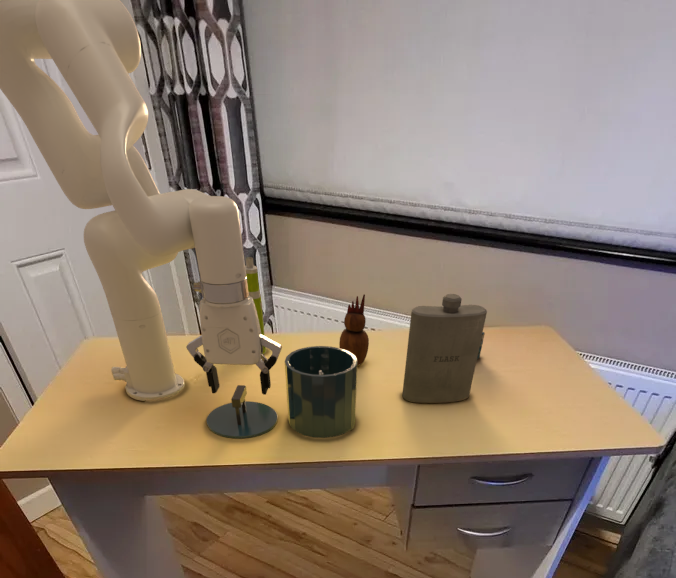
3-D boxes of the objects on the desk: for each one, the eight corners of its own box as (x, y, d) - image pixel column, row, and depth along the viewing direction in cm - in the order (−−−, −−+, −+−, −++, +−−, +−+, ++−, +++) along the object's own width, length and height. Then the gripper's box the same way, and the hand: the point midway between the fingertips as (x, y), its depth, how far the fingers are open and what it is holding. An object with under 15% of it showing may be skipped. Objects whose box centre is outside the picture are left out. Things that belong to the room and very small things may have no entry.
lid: (199, 439, 98) (192, 408, 94) (216, 404, 108) (211, 374, 103) (272, 443, 98) (269, 411, 93) (282, 407, 107) (280, 377, 103)
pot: (284, 438, 99) (280, 374, 90) (293, 405, 108) (290, 344, 99) (353, 441, 99) (355, 377, 89) (356, 408, 108) (358, 347, 98)
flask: (405, 404, 109) (417, 302, 94) (400, 392, 113) (410, 291, 98) (472, 402, 110) (495, 300, 95) (465, 389, 114) (485, 290, 99)
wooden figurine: (371, 362, 123) (375, 293, 112) (359, 370, 120) (362, 300, 109) (347, 355, 126) (349, 287, 115) (335, 363, 123) (336, 294, 111)
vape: (265, 355, 125) (257, 260, 111) (241, 354, 125) (229, 260, 111) (267, 349, 128) (259, 256, 113) (243, 348, 128) (232, 255, 113)
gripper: (168, 297, 83) (191, 398, 96) (273, 298, 82) (282, 401, 95) (181, 283, 88) (201, 381, 101) (279, 284, 87) (287, 383, 100)
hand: (240, 390), depth 98 cm, fingers open, 9 cm apart
